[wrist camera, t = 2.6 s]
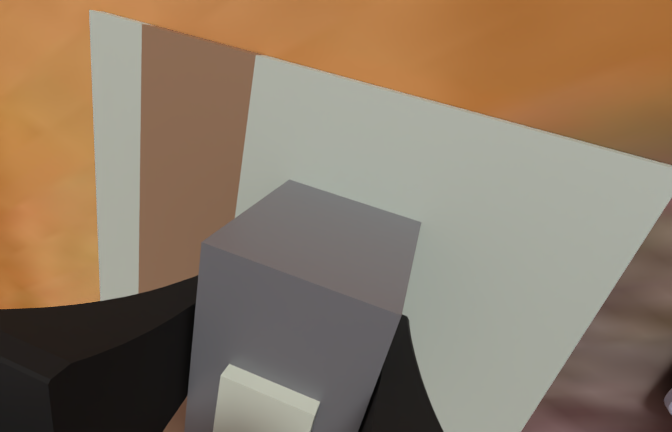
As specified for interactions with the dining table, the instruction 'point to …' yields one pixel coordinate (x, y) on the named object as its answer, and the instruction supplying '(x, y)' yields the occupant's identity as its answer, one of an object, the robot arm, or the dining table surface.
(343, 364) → the block
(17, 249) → the dining table surface
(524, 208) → the panel
